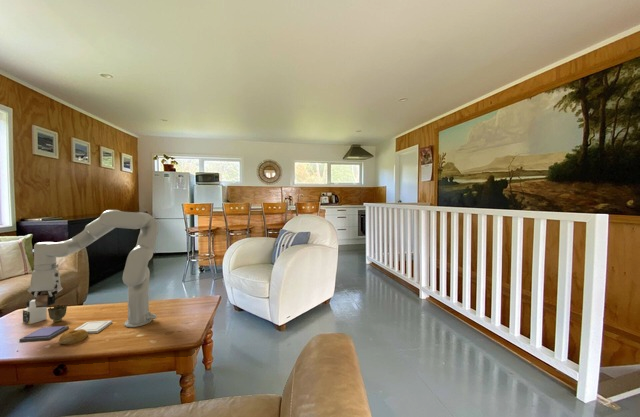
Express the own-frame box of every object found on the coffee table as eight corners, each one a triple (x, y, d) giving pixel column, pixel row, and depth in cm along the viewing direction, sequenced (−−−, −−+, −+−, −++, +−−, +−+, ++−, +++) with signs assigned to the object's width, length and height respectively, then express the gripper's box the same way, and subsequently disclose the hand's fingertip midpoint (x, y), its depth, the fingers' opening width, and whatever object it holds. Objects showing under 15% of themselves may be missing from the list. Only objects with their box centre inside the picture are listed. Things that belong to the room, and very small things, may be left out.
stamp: (54, 303, 133) (54, 288, 133) (46, 307, 129) (46, 291, 129) (44, 304, 133) (44, 289, 133) (36, 307, 128) (36, 292, 128)
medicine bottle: (22, 322, 145) (22, 300, 144) (40, 317, 151) (40, 296, 151) (29, 324, 142) (29, 302, 142) (47, 319, 148) (46, 297, 148)
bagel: (93, 333, 133) (93, 324, 132) (77, 345, 122) (77, 334, 122) (71, 335, 131) (70, 325, 131) (52, 347, 120) (52, 336, 120)
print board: (112, 322, 145) (112, 320, 145) (97, 333, 133) (97, 330, 133) (87, 324, 143) (87, 321, 143) (70, 334, 131) (70, 332, 131)
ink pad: (68, 328, 138) (68, 325, 138) (49, 339, 126) (49, 336, 126) (41, 329, 136) (41, 326, 136) (19, 341, 124) (19, 338, 124)
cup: (54, 325, 141) (54, 310, 141) (44, 323, 143) (44, 309, 143) (70, 319, 149) (70, 305, 149) (60, 318, 150) (60, 304, 150)
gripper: (70, 265, 136) (70, 300, 136) (32, 266, 133) (32, 302, 133) (58, 268, 128) (58, 306, 128) (17, 269, 126) (17, 308, 126)
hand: (45, 303), depth 131 cm, fingers closed on stamp, 4 cm apart
